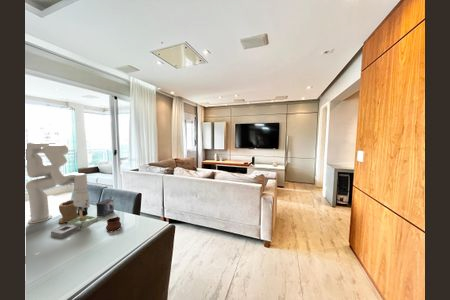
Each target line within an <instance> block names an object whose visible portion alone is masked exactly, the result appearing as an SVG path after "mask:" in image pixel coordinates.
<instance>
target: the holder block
mask: <svg viewBox="0 0 450 300" xmlns="http://www.w3.org/2000/svg"><path fill="white" fill-rule="evenodd" d="M78 231H80V227H79V226H77V225H71V224H66V225H63V226H61V227H57V229H54V230H51V231H50V236H51V237H53V238H59V239H63V238H66V237H68V236H70V235H72V234H74V233H77V232H78Z"/></svg>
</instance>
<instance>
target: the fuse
mask: <svg viewBox="0 0 450 300" xmlns="http://www.w3.org/2000/svg"><path fill="white" fill-rule="evenodd" d="M84 208H85V207H84ZM82 211H83V208H79V215H80V221H85V220H87V217H86V216H83V215H82Z"/></svg>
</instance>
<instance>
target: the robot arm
mask: <svg viewBox="0 0 450 300" xmlns="http://www.w3.org/2000/svg"><path fill="white" fill-rule="evenodd" d="M68 153H69V148H68V146H67V145H65V144H63V143H59V142H55V141H32V142H27V149H26V160H27V167H26V172H27V176H28V177H29V178H31V179H32V180H29V181H28V182H27V183H26V185H25V189H26V191H27V194H28V195H27V196H28V203H29V211H30V215H29V216H30V219H28V220H27V223H28V222H29V223H28V224H39V223H42V222H46V221H47V220H50V219H52V217H53V216H52V214H50V213H49V212H50V211H49V201H48V195H47V193H45V191H46V190H49V189H53V188H56V187H57V185H58V186H61V187H63V186H67V185H73V189H74V191H73V198H72V200H73V203H74V206H76V208H77V213H78V216H79V208H83V211H82V215H83V216H86V215H89V214H88V209H89V208H90V207H91V205H90V196H89V192H88V191H89V190H88V178H87V174H86V173H85V172H84V173H83V172H82V173H81V172H80V173H79V172H70V173H65V174H63V173H62V172H61V170H60V168H61V167H63V166H65V165H66V163H68V160H67V157H65V155H67V154H68ZM39 154H44V155H45V156H46V158H47V160H48V161H49V163H43V158H42V156H41V155H39ZM26 160H25V161H26ZM40 177H41V178H40ZM33 178H34V179H33ZM35 178H36V179H35ZM84 207H85V208H84Z"/></svg>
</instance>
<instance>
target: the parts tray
mask: <svg viewBox="0 0 450 300" xmlns="http://www.w3.org/2000/svg"><path fill="white" fill-rule="evenodd" d="M86 217H87V220H85V221H80V217H78V218H75V219H73V220H71V221H68V222H66V223H67V224H66V225H68V224H71V225H77V226H79V228H84V227H86V226H88V225H91V224H92V223H94V222H97V221H99V216H97V215H89V214H88V215H86Z"/></svg>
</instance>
